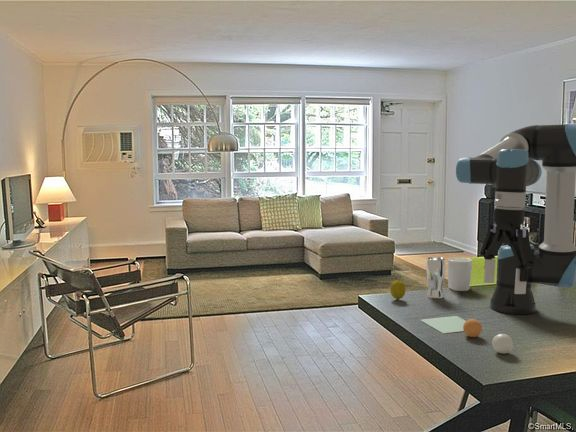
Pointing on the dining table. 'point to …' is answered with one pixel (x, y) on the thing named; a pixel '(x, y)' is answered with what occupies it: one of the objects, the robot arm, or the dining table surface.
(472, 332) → the object ball
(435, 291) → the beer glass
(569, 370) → the dining table surface
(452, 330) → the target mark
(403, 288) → the lemon
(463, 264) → the candle holder
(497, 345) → the cue ball
